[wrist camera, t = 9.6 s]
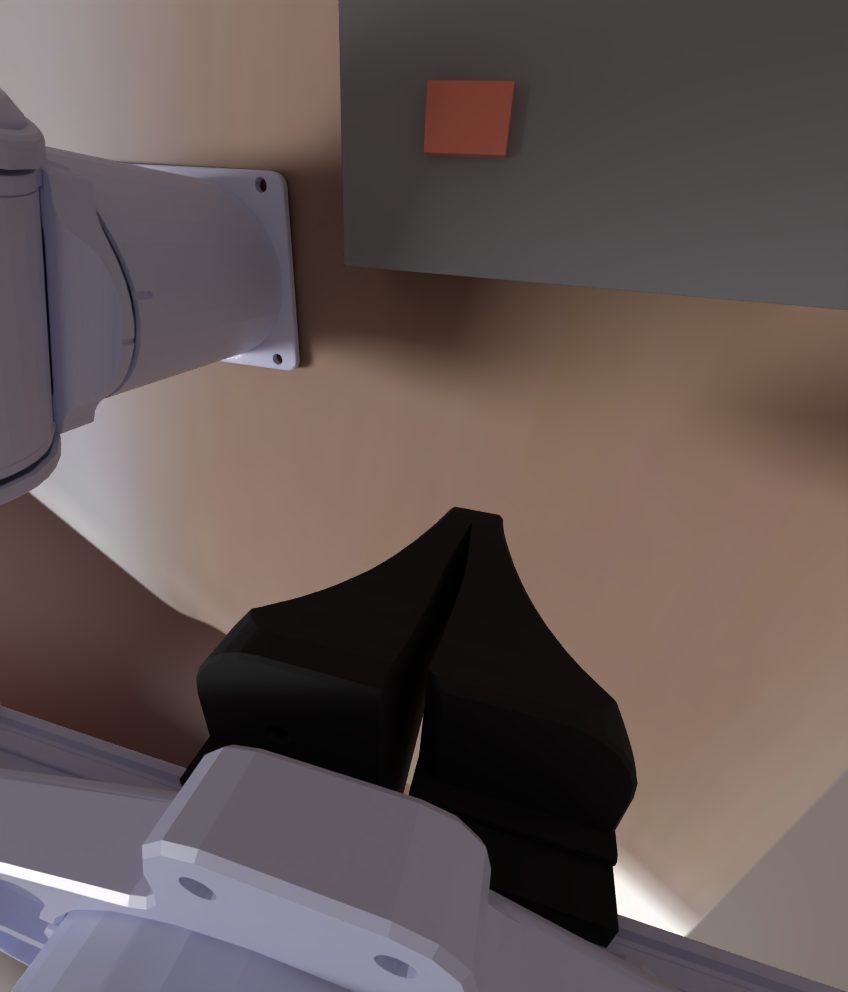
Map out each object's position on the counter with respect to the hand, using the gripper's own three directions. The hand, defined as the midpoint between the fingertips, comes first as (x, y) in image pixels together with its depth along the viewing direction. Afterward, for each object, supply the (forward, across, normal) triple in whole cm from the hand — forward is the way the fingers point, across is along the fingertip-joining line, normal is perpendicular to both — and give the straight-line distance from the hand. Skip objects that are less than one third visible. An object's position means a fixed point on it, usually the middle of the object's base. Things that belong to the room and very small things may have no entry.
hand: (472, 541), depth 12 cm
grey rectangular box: (+10, -2, -10) cm, 15 cm away
